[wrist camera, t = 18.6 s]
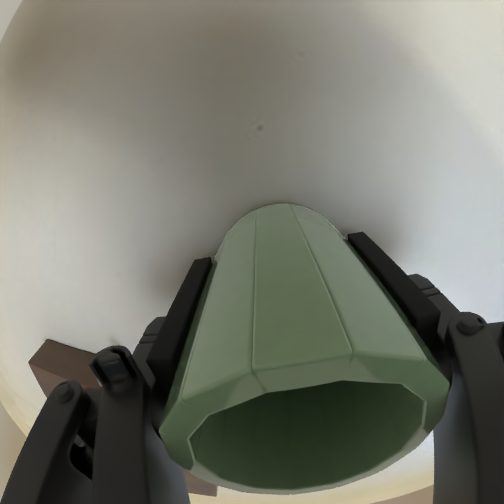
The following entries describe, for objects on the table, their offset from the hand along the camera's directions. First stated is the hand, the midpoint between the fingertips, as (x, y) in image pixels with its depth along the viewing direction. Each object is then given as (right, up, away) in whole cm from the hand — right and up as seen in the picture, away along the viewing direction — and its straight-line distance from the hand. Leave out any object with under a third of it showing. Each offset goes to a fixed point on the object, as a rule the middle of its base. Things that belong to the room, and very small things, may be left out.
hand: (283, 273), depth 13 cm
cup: (0, 0, 0) cm, 0 cm away
